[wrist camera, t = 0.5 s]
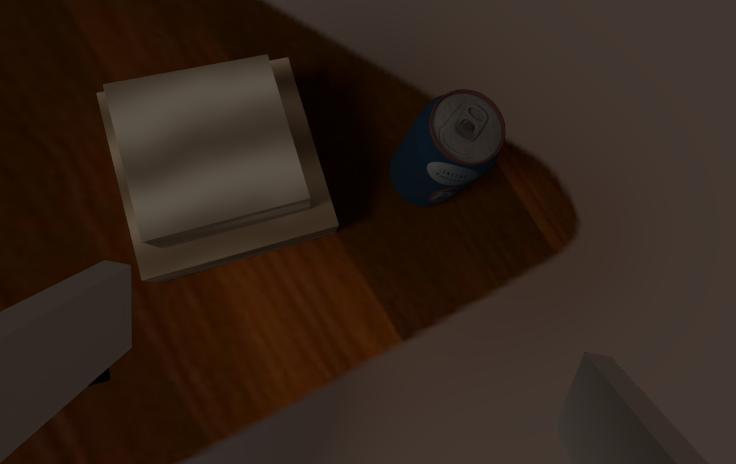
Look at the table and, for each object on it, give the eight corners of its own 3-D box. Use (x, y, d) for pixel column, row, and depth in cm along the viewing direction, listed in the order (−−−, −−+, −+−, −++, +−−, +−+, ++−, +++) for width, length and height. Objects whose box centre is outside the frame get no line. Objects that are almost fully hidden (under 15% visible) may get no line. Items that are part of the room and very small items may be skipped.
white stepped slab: (119, 115, 35) (66, 64, 28) (289, 81, 39) (285, 27, 31) (160, 282, 34) (117, 278, 26) (335, 232, 37) (343, 216, 29)
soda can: (429, 222, 39) (483, 191, 27) (373, 182, 38) (403, 133, 27) (464, 170, 40) (529, 119, 28) (410, 130, 40) (454, 63, 28)
